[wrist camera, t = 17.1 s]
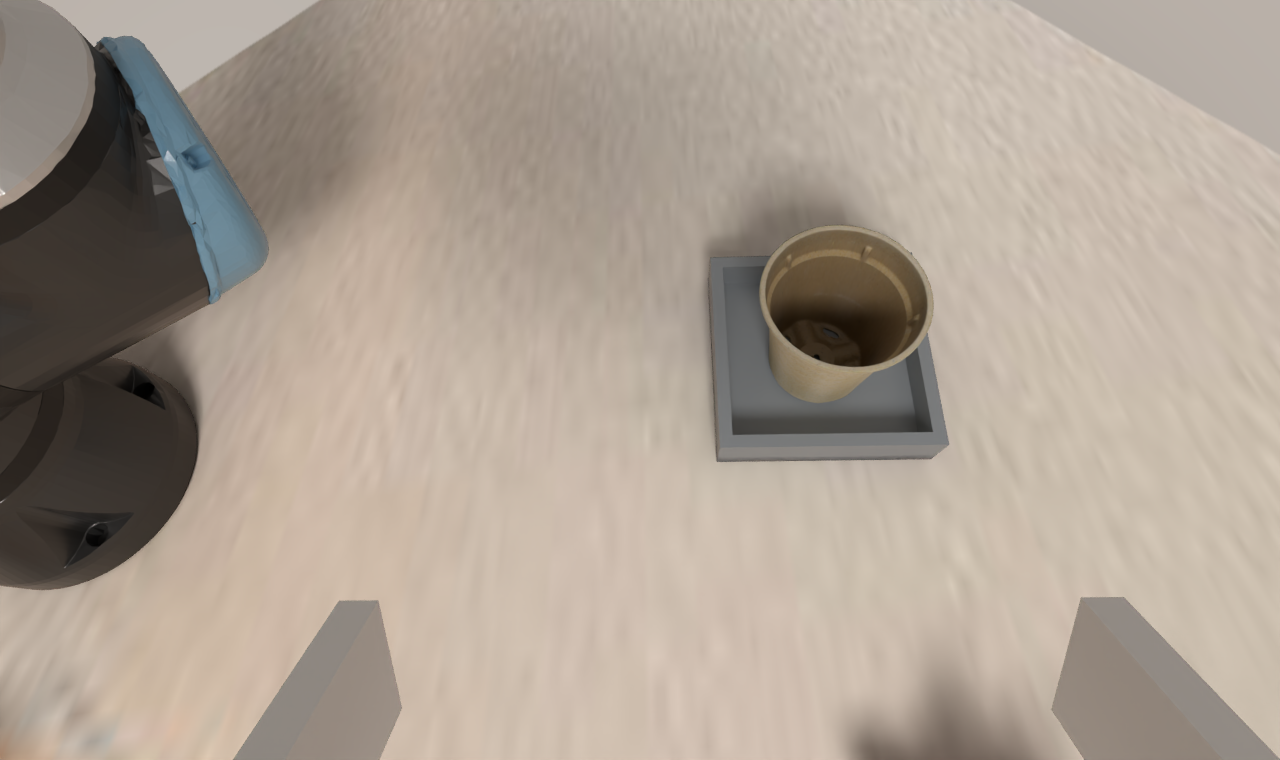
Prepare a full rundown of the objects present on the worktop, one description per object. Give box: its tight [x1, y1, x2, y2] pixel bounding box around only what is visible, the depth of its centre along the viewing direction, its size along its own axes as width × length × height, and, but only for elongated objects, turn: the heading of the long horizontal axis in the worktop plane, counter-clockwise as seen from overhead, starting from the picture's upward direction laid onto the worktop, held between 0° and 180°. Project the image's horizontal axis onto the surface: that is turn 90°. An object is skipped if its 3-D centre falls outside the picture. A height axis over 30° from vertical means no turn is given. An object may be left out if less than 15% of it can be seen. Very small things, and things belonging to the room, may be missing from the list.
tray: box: [708, 253, 949, 462], centre depth 44 cm, size 14×14×3 cm
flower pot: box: [759, 225, 933, 403], centre depth 40 cm, size 9×9×9 cm
